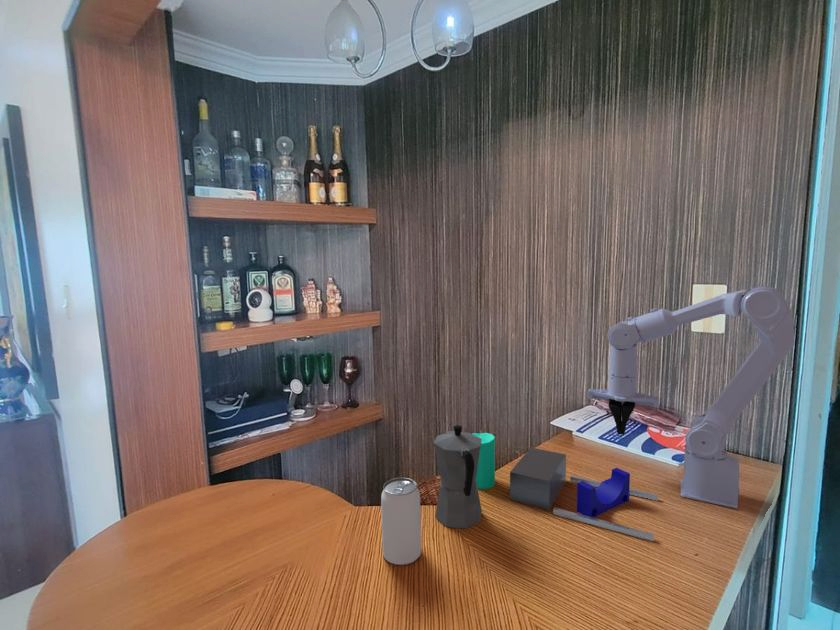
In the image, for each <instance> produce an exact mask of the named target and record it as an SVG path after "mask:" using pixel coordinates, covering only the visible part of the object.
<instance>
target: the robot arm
mask: <svg viewBox="0 0 840 630" xmlns="http://www.w3.org/2000/svg"><path fill="white" fill-rule="evenodd" d="M741 312H743V315H744V316H745V317H746V318H747V319H748V321H750V322H751V324H753V326H754V327H755V331H756V333H757V335H758V338H759V341H758V342H757V344H756V345H755V346H754V348H753V349H752V350H751V352H750V353H749V355H747V357H746V358H745V359H744V360H743V362H742V364H741V365H740V366H739V368H738V369H737V370H736V372H735V373H734V374H733V376H732V377H731V378H730V379H729V381H728V383H727V384H726V386H725V387H724V388H723V390H722V391H721V392H720V393H719V395H718V396H717V397H716V399H715V400H714V402H713V403H712V404H711V405H710V406H709V407H708V408H707V409H706V410H705V412H704V413H702V414H700V415H697V416H696V417H695V418H693V419H692V421H691V423H690V427H689V429H688V431H687V433H686V434H685V438H684V440H685V445H684V456H683V458H684V459H683V478H680V496H681V497H682V498H687V499H692V500H696V501H699V502H704V503H710V504H715V505H720V506H721V507H722V506H723V507H728V508H732V509H738V508H739V505H738V504H739V502H738V501H739V495H740V461H739V458H738V456H737V457H736V456H732V455H728V453H727V450H725V448H724V441H725V438H726V437H727V436H728V434H729V432H730V431H731V429H733V428H732V427H733V426H734V423H735V422H736V420H737V419H738V418H739V417H740V415H741V414H742V413H743V412H744V410H745V409H746V408H747V407H748V406H749V404H750V403H751V401H752V400H753V399H754V398H755V397H756V395H757V393H758V392H759V391H760V390H761V388H763V386H764V385H765V384H766V383H767V381H768V380H769V379H770V378H771V376H772V375H773V374H774V372H775V371H776V370H777V368H778V367H779V366H780V364H782V361H784V359H785V358H786V357H787V356H788V354H789V353H790V351H792V349H793V348H794V346H795V343H796V340H795V334H794V333H795V331H794V324H793V313H792V309H791V306H790V305H789V304H788V301H787V300H786V299H785V297H784V295H783V294H782V293H781V291H780V290H778V289H777V288H775V287H772V286H768V285H758V286H755V287H753V288H750V289H749V290H748V291H747V289H741V290H737V291H731V292H727V293H723V294H719V295H717V296H714V297H711V298H709V299H706V300H702V301H700V302H697V303H694V304H691V305H689V306H686V307H682V308H679V309H677V310H674V311H671V310H668V309H666V308H660V309H658V307H654V308H652V309H650V310H649V312H648V313H645V314H643V315H640V316H636V317H634V316H629V317H627V321H626V320H625V321H621V322H617V323H616V324H614V325H612V326H611V327H610V328H609V329H608V331H607V335H606V336H607V337H606V339H607V341H608V343H609V344H610V349H609V351H610V352H609V353H610V354H609V364H608V365H609V367H608V389H601V388H600V389H596V388H589V389H588V390H587V399H589V400H593V399H595V400H602V401H608V405H607V407H608V408H609V410H610V412H611V415H612V417H613V419H614V422H615V427H616V431H617V435H625V434H626V428H627V424H628V421H629V419H630V417H631V415H632V413H633V411H634V410H635V408H636V405H641V406H650V407H652V408H655V409H659V405H660V397H659V396H654V395H649V394H643V393H640V392H637V391H638V387H637V386H638V384H637V383H638V358H639V357H638V356H639V355H638V343H642V344H644V343H647V342H651V341H654V340H657V339H661V338H665V337H669V336H670V335H674V334H676V331H677V329H678V327H679V326H682V325H685V324H690V323H693V322H697V321H700V320H704V319H707V318H711V317H714V316H718V315H726V316H732V317H736V318H738V317H740V314H741Z"/></svg>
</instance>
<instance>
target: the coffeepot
mask: <svg viewBox="0 0 840 630" xmlns="http://www.w3.org/2000/svg"><path fill="white" fill-rule="evenodd" d="M462 429H463V426H462V425H459V424H457V425H453V429H452V430H445V433H443V434H438V435H436V437H435V439H434V442H433V447H434V454H435V460H436V465H437V472H438V475H439V477H440V484H439V490H438V495H437V496H438V497H437V501H436V502H437V503H436V507H435V508H436V510H435V518H436V519H437V521H438V522H439V523H440V524H441V525H443V526H445V527H448V528H451V529H458V530H460V529H461V530H463V529H469V528H473V527H474V526H476V525H478V524H479V523H481V520H482V514H483V513H482V511H483V510H482V504H481V500H480V494H479V489H478V487H477V483H476V476H477V469H478V462H479V455H480V448H481V441H482V439H481V438H479V437H477V436H475V435H473V433H471V432H462V431H463V430H462Z"/></svg>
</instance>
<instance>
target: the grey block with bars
mask: <svg viewBox="0 0 840 630" xmlns="http://www.w3.org/2000/svg"><path fill="white" fill-rule="evenodd" d="M566 461H567V454H565V453H562V452H557V451H550V450H545V449H540V448H537V447H530V448H529V449H528V450H527V451H526V452H525V453H524V454H523V456H522V457H521V458H520V459H519V460H518V462H517V463H516V465H514V466H513V468H512V469H511V470H510V471H509V500H510V501H512V502H516V503H520V504H522V505H527V506H532V507H535V508H538V509H542V510H546V511H550V510H551V508H552V506H553V505H554V503H555V501H556V499H557V497H558V496H559V493H560V491H561V490H562V488H563V486H564V484H565V482H566V481H567V480H566V479H567V476H566V475H567V471H566V470H567V462H566ZM569 479H570V482H573V483H579V482H581V481H584V482H586V483H588V484H590V485H592V486H594V487H596V488H598V487H599V485H600V484H601V482H602V481H598V480H595V479H589V478H585V477H581V476H576V475H570V478H569ZM629 494H630V495H629V496H633V495H634V496H635V497H637V496H638V498H642V497H644V498H643V499H646V498H648V499H647V500H650V499H652V500H651V501H655V500H656V502H658V500H659V494H657V493H652V492H647V491H643V490H640V489H639V490H638V489H634V488H630V487H629ZM552 510H553V511H552V514H553V515H556V516H558V517H561V518H566V519H568V520H572V521H576V522H579V521H580V523H584V524H586V525H590V524H591V525H590V526H595V527H599V528H602V529H606V530H608V531H613V532H617V533H620V534H624V535H627V536H630V537H635V538H639V539H643V540H644V541H650V542H651V543H653V542H654V537H655V533H652V532H648V531H645V530H640V529H636V528H634V527H629V526H625V525H622V524H618V523H615V522H610V521H606V520H603V519H598V518H596V517H593V518H592V517H589V516H585V515H582V514H580V513H578V512H573V511H570V510H565V509H562V508H559V507H555V506H554V508H553V509H552Z"/></svg>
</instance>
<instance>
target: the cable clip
mask: <svg viewBox="0 0 840 630" xmlns="http://www.w3.org/2000/svg"><path fill="white" fill-rule="evenodd" d="M630 481H631V474H630V472H628V471H625V470H623V469H621V468H618V467H615V468H612V469H611V475H610V478H608V479H607V478H606V479H605V480H602V481H600V482H601V484H600V485H599V487H594V486H592V485H590V484H588V483H586V482H584V481H581V482H579V483H577V482H576V483H577V487H576V488H577V489H576V513H578V514H581V515H585V516H589V517H592V518H596V517H597V516H599V515H601V514H604V513H606V512H608V511H610V510H612V509H614V508H616V507H617V508H618V507H620V506H621V505H624V504H625V502H626V503H628V502H629V501H630V495H629V488H630V486H631V485H630V484H631V482H630ZM627 501H628V502H627Z"/></svg>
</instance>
